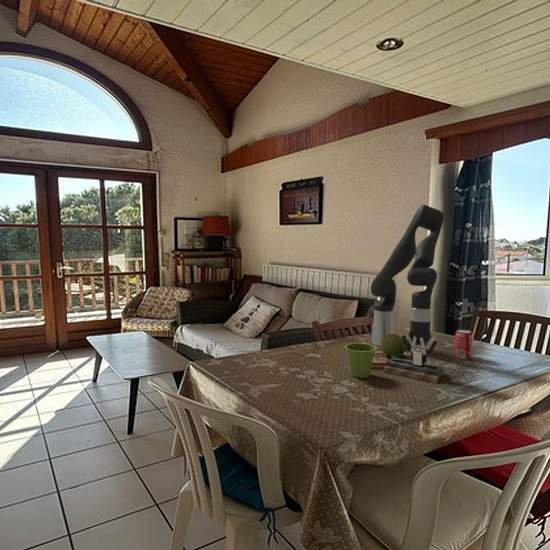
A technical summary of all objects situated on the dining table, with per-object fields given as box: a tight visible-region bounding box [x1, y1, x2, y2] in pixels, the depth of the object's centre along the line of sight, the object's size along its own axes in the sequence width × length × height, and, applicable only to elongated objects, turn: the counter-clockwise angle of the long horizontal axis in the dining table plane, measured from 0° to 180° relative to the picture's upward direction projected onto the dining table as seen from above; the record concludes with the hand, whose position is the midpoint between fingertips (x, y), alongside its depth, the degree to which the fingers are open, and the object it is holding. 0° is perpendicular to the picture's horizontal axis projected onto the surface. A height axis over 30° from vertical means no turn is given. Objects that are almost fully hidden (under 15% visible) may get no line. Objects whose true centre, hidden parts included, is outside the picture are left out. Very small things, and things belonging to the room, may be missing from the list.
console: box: [383, 357, 446, 384], centre depth 155 cm, size 20×12×4 cm, turn 53°
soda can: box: [453, 329, 473, 360], centre depth 175 cm, size 7×7×12 cm
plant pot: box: [344, 342, 377, 379], centre depth 153 cm, size 12×12×11 cm
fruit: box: [379, 333, 407, 358], centre depth 176 cm, size 12×12×10 cm
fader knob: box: [413, 348, 423, 367], centre depth 154 cm, size 3×5×7 cm, turn 143°
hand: (418, 362), depth 154 cm, fingers closed on fader knob, 3 cm apart
